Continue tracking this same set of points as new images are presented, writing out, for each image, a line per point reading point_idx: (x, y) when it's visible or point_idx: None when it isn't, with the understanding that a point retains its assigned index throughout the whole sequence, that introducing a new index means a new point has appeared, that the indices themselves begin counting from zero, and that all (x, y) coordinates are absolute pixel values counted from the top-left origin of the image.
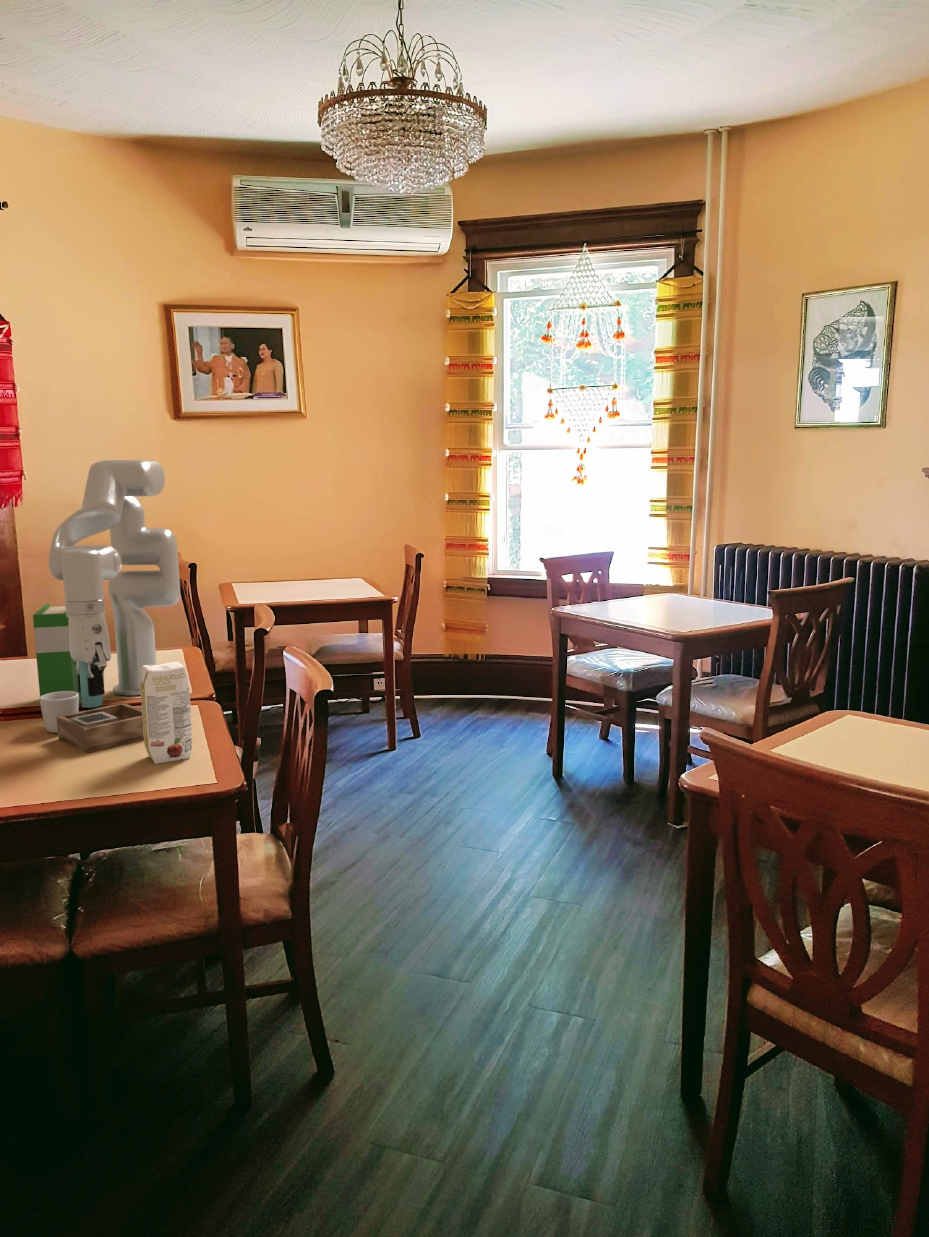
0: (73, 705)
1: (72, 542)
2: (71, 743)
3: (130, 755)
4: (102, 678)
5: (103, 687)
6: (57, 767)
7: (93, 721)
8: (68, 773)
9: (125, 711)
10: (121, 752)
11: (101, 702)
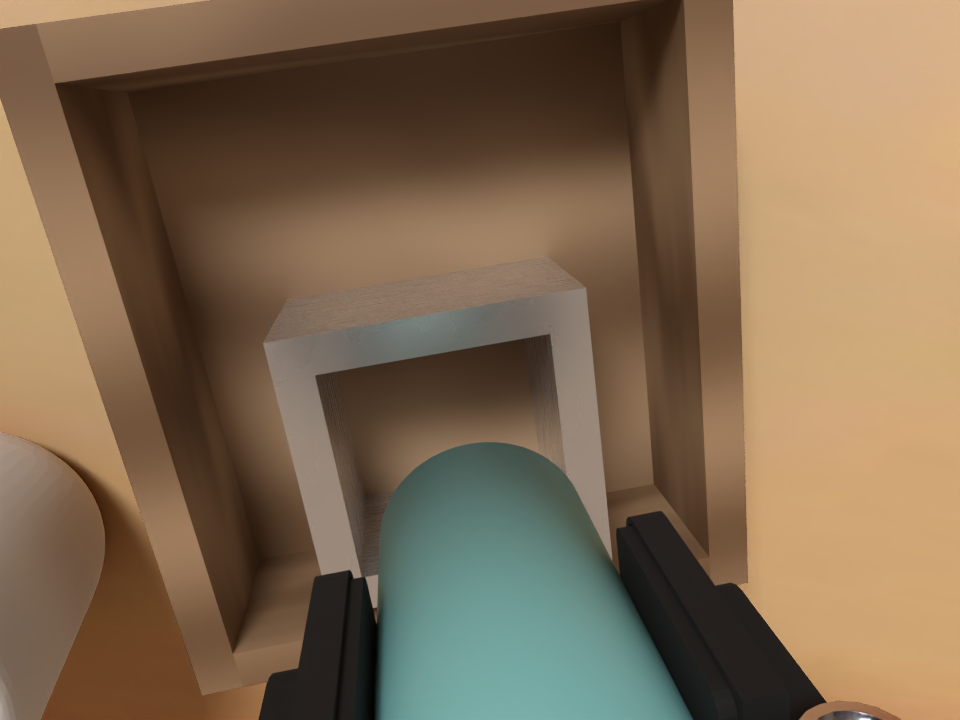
0: (3, 575)
1: None
2: None
3: (910, 290)
4: (765, 671)
5: (692, 564)
6: (796, 654)
7: (334, 418)
8: (926, 626)
9: (169, 74)
10: (812, 318)
11: (556, 475)
